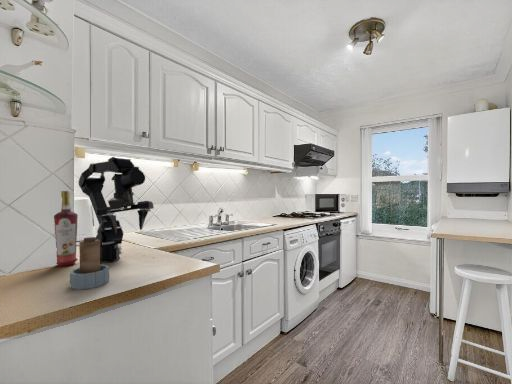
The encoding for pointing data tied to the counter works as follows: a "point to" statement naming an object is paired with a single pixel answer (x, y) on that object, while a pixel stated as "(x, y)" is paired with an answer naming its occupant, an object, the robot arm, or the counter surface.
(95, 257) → the pepper mill
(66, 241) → the liquor
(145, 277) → the counter surface
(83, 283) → the blue segmented ring
